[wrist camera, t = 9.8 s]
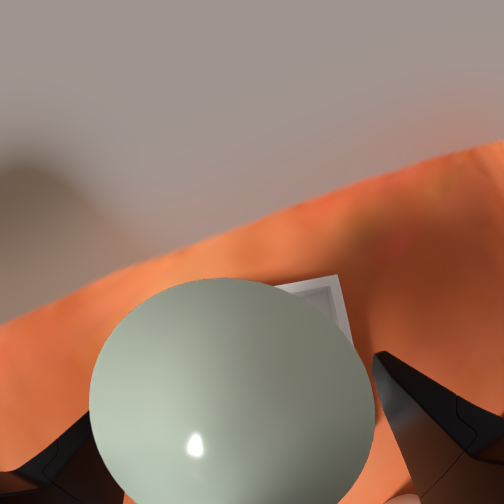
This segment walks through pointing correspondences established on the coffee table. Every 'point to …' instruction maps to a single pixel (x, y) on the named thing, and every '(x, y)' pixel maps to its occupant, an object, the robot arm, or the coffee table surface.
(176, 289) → the pale green cylinder
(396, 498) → the white rounded cylinder
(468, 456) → the robot arm
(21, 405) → the coffee table surface
